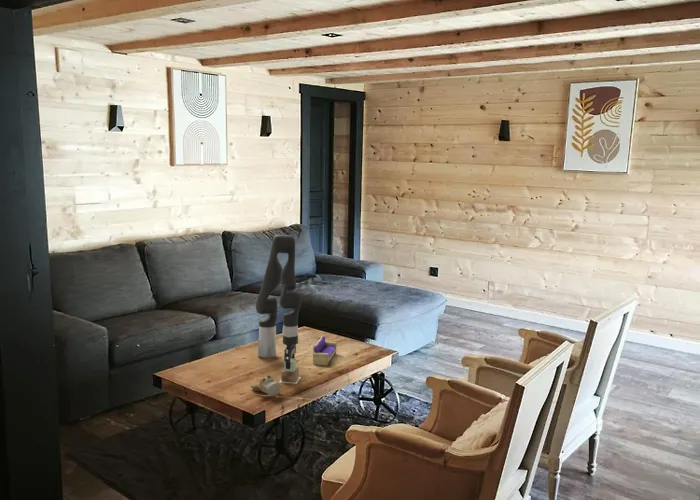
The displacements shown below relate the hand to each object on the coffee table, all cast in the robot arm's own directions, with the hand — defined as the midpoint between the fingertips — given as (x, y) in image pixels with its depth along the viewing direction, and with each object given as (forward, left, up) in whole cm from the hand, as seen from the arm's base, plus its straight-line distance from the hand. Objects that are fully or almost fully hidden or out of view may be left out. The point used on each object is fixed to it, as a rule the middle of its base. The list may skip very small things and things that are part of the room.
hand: (290, 365), depth 298 cm
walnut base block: (0, 0, -7) cm, 7 cm away
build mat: (0, 0, -8) cm, 8 cm away
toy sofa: (+11, +35, -8) cm, 38 cm away
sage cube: (0, 0, -2) cm, 2 cm away
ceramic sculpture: (-7, -16, -8) cm, 19 cm away
